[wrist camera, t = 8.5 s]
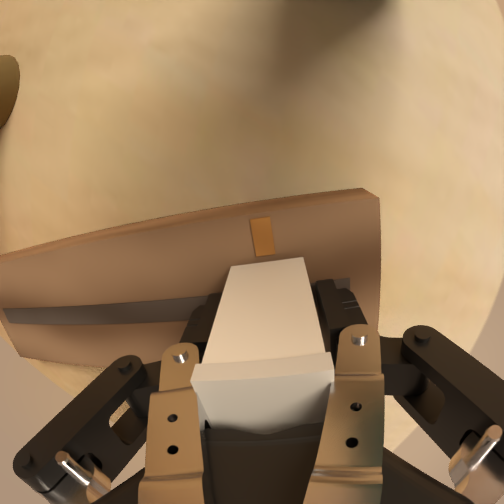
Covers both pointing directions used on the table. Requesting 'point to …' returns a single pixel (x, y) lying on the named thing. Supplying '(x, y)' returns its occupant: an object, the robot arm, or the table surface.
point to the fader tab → (265, 352)
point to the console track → (178, 273)
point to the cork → (8, 86)
